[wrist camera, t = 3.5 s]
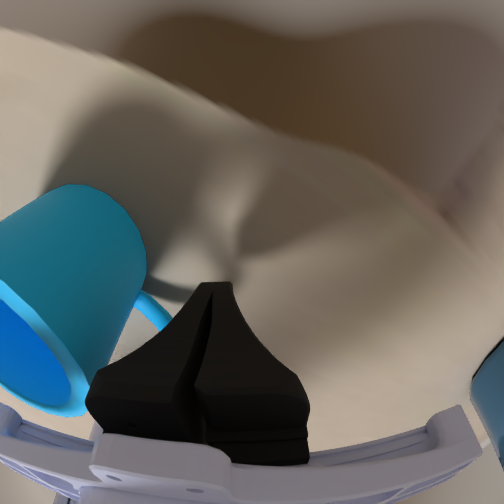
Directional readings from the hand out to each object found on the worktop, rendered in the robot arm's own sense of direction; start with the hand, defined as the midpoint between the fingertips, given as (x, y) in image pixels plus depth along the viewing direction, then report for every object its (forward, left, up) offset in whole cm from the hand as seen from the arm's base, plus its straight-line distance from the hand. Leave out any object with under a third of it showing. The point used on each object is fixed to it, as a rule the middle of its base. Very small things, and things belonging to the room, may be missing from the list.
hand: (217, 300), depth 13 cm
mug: (0, +6, -3) cm, 7 cm away
